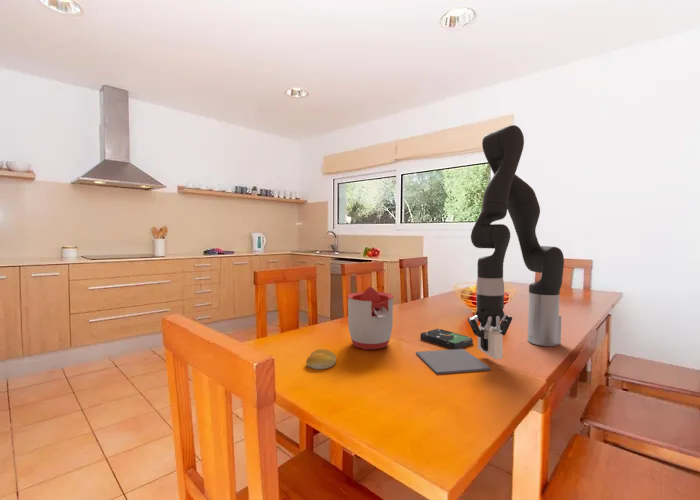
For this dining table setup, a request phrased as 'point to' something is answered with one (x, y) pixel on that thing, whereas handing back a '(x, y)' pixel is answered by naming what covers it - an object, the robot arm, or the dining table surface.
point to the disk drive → (446, 339)
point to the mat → (452, 361)
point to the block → (493, 344)
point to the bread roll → (321, 359)
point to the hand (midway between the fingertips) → (489, 349)
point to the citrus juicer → (370, 318)
